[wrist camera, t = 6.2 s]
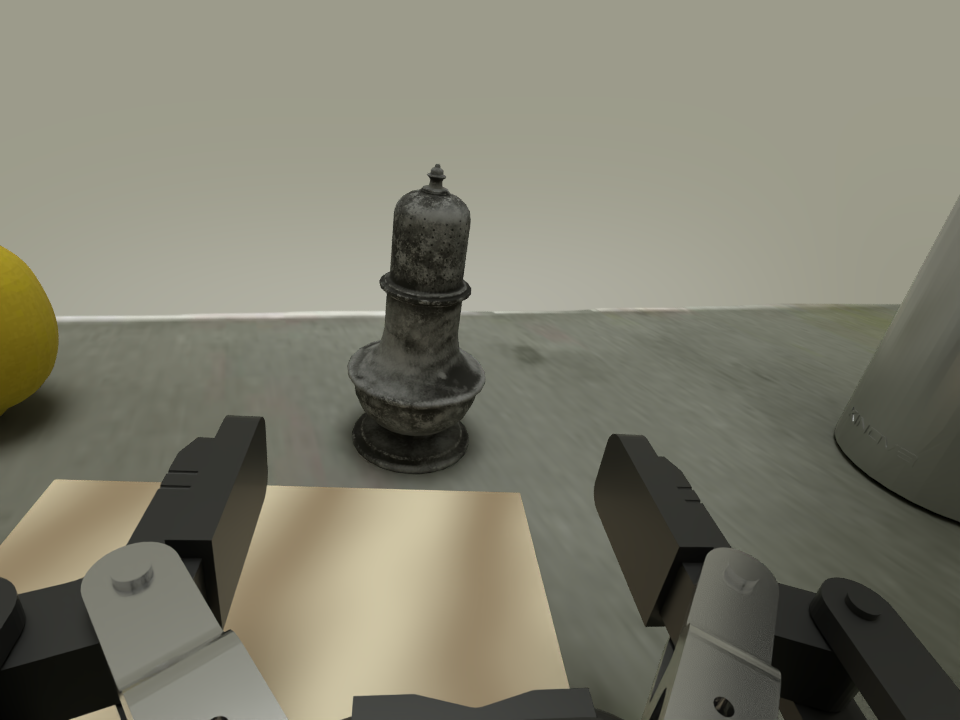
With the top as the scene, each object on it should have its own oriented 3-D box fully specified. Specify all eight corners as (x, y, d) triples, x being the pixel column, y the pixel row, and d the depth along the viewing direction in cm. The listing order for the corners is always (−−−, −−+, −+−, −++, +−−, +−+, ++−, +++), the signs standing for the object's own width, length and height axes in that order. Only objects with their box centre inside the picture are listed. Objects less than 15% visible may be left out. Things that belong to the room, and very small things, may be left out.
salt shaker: (349, 398, 28) (358, 141, 22) (466, 403, 29) (503, 159, 23) (340, 477, 22) (348, 169, 17) (483, 479, 24) (535, 190, 18)
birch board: (514, 516, 22) (520, 492, 21) (612, 941, 11) (628, 917, 11) (62, 506, 19) (54, 479, 19) (-350, 1049, 9) (-396, 1024, 8)
